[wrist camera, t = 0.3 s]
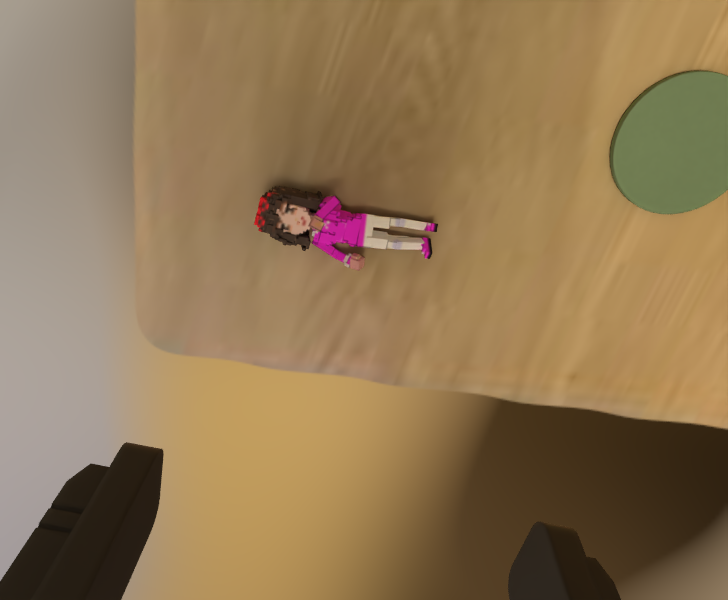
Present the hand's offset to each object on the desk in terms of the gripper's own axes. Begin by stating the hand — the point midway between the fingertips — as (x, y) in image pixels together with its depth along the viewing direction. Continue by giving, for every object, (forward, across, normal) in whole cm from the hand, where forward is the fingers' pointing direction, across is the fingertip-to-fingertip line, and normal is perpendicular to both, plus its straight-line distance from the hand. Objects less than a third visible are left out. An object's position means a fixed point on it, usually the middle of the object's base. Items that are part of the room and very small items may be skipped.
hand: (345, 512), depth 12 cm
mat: (+29, -19, -6) cm, 35 cm away
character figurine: (+29, +1, +4) cm, 29 cm away
